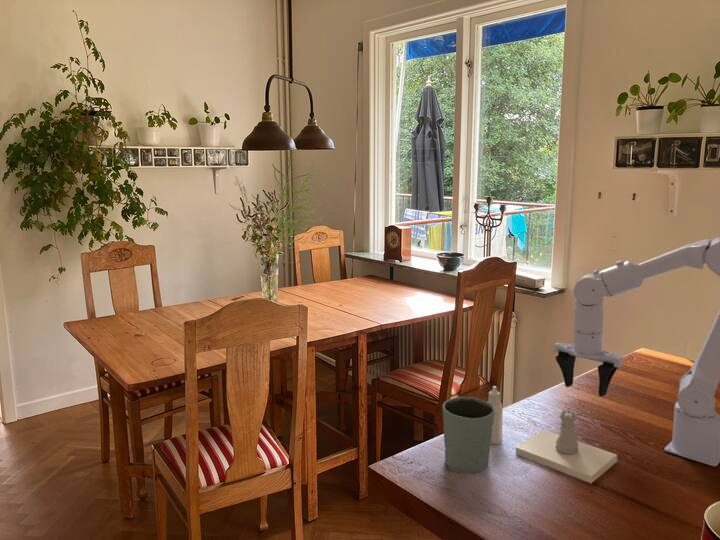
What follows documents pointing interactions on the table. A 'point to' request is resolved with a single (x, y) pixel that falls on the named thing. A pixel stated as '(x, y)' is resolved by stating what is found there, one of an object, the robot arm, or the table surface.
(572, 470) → the cream tile
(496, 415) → the eye dropper bottle
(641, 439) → the table surface
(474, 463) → the green cup
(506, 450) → the table surface
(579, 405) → the table surface
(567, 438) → the rook chess piece
